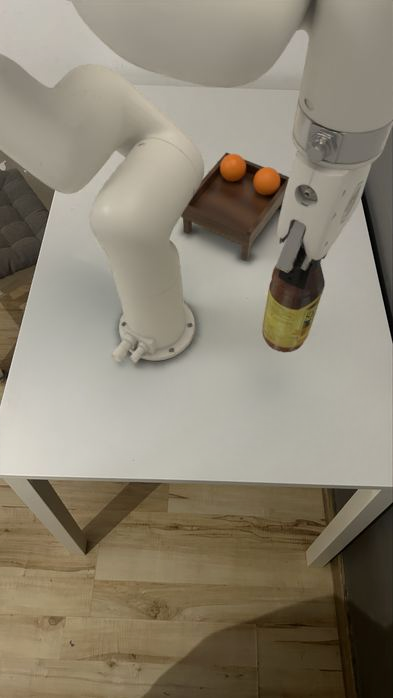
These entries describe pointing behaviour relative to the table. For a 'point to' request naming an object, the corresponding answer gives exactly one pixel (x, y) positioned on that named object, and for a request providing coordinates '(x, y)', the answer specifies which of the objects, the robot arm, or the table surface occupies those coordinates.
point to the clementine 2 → (266, 181)
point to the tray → (233, 206)
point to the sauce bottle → (291, 309)
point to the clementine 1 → (233, 167)
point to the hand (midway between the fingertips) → (302, 266)
